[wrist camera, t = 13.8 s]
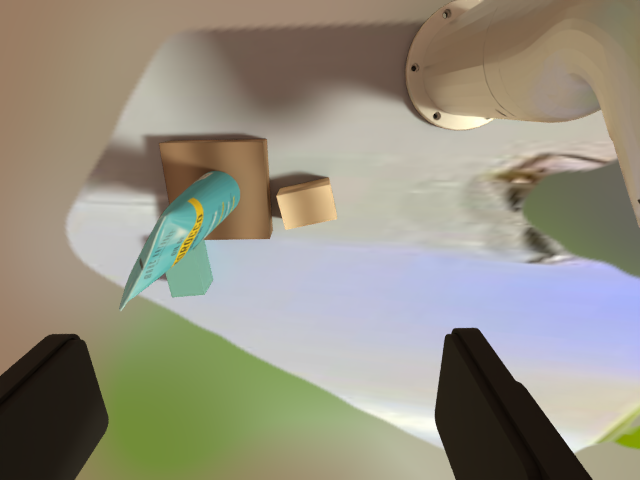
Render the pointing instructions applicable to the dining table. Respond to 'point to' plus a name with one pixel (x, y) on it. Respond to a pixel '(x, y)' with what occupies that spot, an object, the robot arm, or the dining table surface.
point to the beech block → (306, 203)
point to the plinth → (240, 163)
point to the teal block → (191, 273)
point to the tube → (183, 228)
